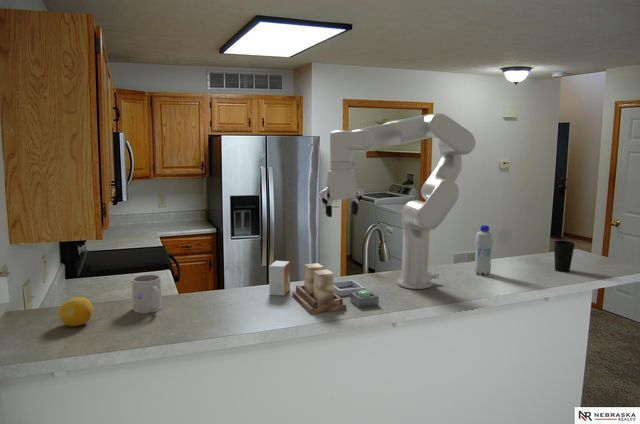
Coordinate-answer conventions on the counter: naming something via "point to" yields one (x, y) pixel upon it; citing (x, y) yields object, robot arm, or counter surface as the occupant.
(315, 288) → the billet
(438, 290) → the counter surface
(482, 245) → the bottle
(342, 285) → the grey square frame
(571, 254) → the cup
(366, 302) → the switch box
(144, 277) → the mug
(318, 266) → the block
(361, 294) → the button
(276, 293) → the small box
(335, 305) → the brown wooden tray
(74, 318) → the fruit
